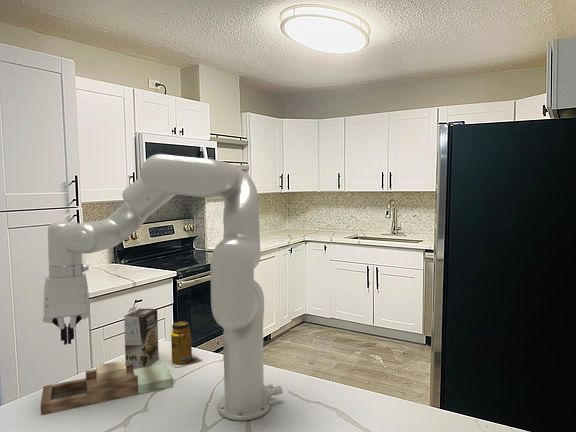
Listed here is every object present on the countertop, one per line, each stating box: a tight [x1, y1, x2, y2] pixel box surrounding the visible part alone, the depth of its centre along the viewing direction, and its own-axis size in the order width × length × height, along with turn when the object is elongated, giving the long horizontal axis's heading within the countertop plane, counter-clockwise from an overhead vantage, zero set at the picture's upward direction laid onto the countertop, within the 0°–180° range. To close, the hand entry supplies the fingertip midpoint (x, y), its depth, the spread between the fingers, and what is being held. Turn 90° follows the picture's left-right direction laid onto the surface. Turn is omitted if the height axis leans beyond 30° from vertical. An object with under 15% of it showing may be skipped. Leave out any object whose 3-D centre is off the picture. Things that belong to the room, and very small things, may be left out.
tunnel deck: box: [40, 363, 174, 416], centre depth 113 cm, size 31×11×4 cm, turn 117°
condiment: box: [167, 320, 202, 368], centre depth 133 cm, size 7×8×12 cm
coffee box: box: [123, 308, 160, 369], centre depth 131 cm, size 9×6×16 cm
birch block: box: [95, 360, 127, 383], centre depth 114 cm, size 7×6×4 cm
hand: (67, 342), depth 109 cm, fingers closed
